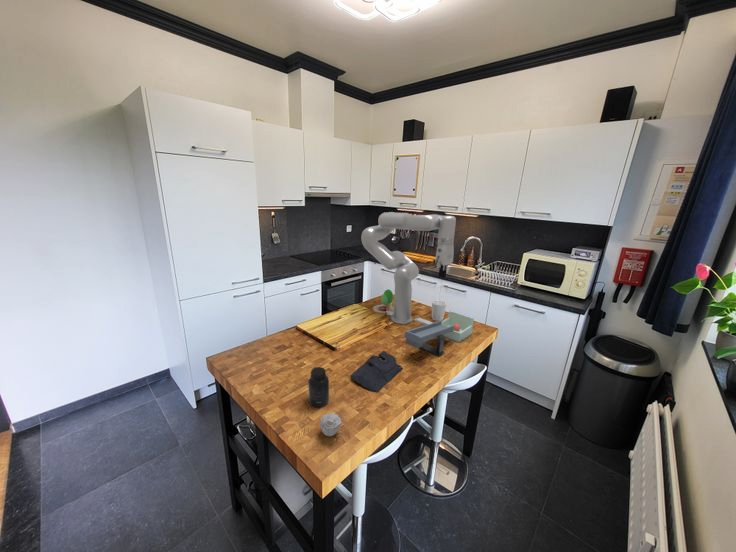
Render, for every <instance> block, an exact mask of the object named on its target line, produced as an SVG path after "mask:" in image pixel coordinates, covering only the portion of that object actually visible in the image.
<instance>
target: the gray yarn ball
mask: <svg viewBox="0 0 736 552" xmlns="http://www.w3.org/2000/svg"><path fill="white" fill-rule="evenodd" d="M341 424H342V419H341V418H340V416H339V414H338V413H337V414H335V413H326V414H324V415H322V417H321V418H320V422H319V427H320V429H321V431H322V433H323V434H324V435H325V436H327V437H333V436H335V434H337V433H338V430H339V429H340V427H341Z"/></svg>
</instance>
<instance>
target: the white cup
mask: <svg viewBox="0 0 736 552" xmlns="http://www.w3.org/2000/svg"><path fill="white" fill-rule="evenodd" d="M446 306H447V302H445V301H444V300H441V299H440V300H439V299H436V300H435V299H433V300H432V302H431V319H432V320H433V321H435V322H438V321H443V320H444V317H445V313H446Z"/></svg>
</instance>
